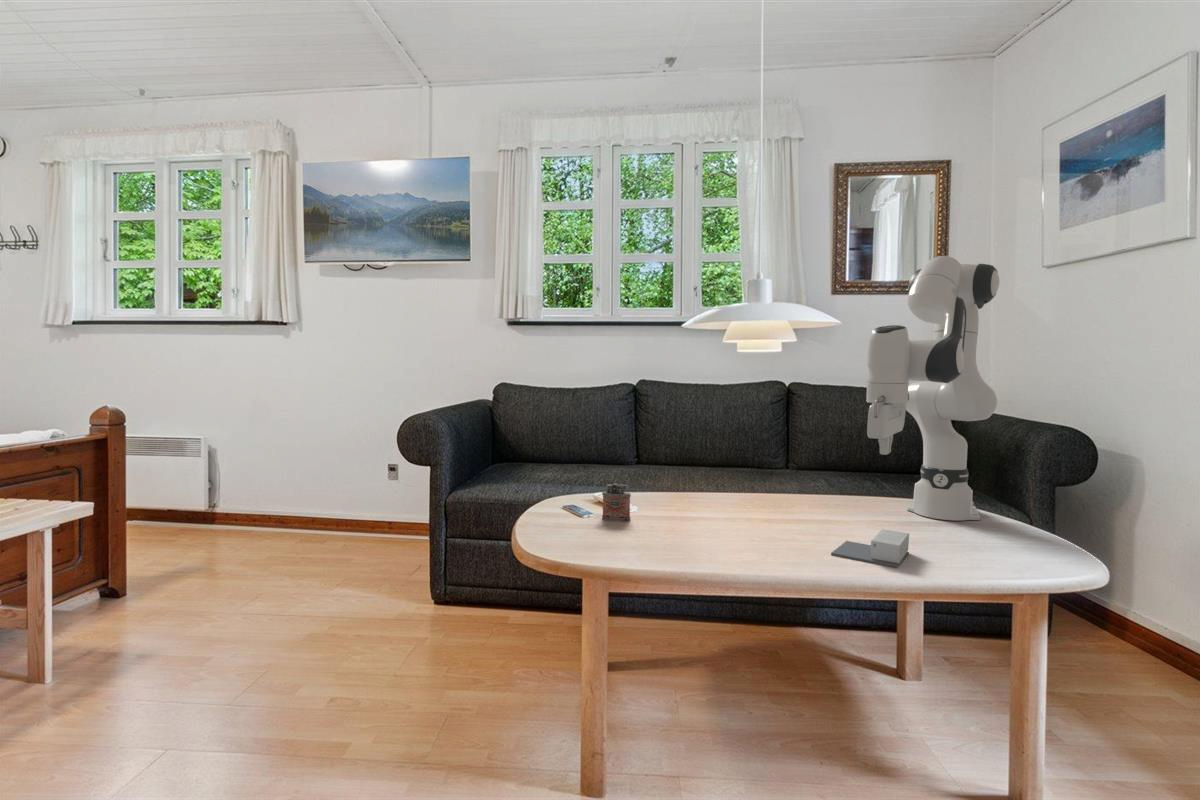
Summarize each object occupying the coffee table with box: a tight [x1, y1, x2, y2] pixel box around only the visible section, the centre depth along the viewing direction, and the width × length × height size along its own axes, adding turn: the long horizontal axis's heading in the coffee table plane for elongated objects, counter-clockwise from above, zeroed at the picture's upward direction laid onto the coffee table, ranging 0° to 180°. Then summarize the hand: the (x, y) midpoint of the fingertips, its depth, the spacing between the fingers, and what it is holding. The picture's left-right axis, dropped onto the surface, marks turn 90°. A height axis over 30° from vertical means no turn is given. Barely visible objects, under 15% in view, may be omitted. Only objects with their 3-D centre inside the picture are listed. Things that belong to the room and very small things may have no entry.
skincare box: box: [870, 528, 910, 564], centre depth 139 cm, size 6×4×12 cm
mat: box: [830, 540, 910, 569], centre depth 141 cm, size 12×14×1 cm
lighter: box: [601, 483, 632, 522], centre depth 170 cm, size 8×3×10 cm, turn 73°
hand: (885, 453), depth 143 cm, fingers closed
